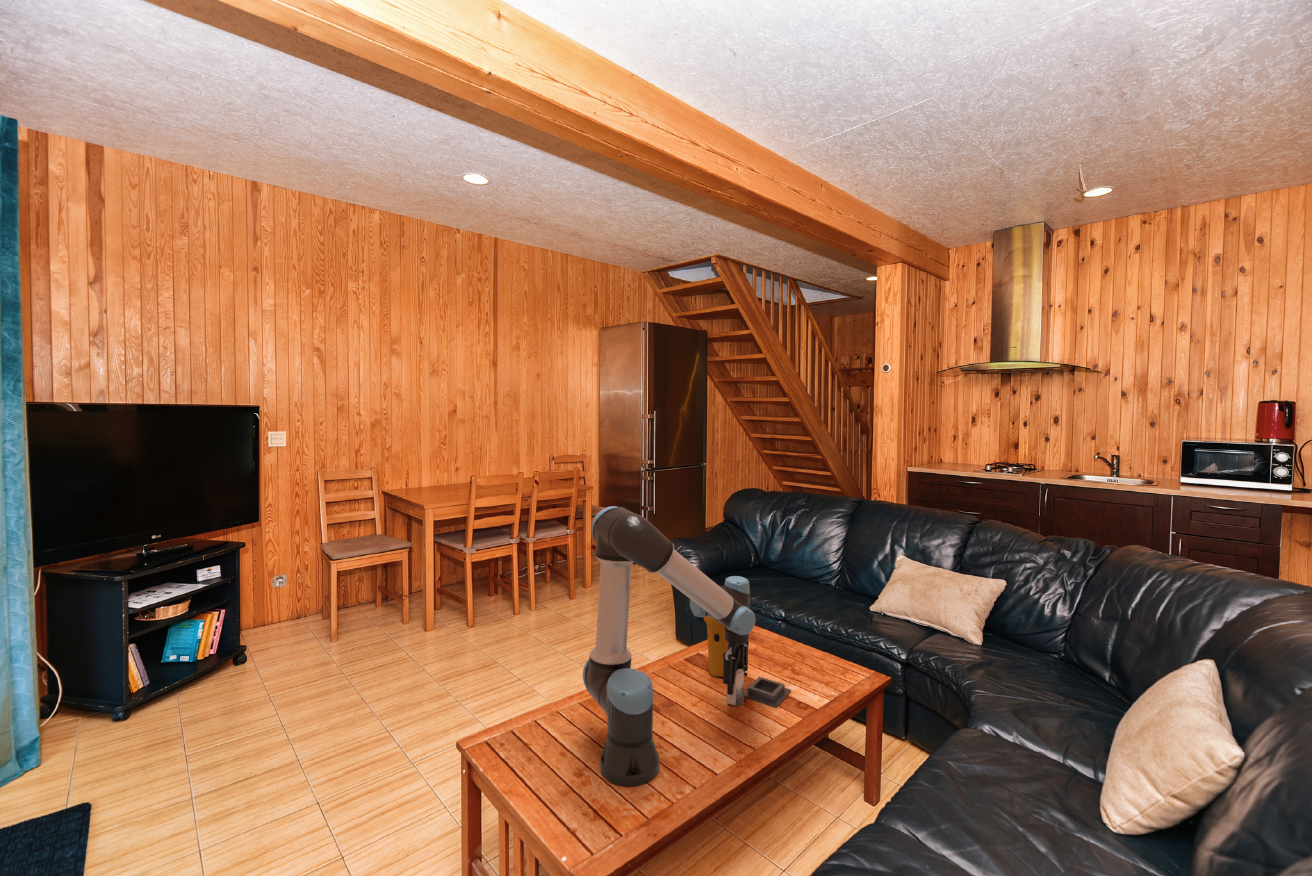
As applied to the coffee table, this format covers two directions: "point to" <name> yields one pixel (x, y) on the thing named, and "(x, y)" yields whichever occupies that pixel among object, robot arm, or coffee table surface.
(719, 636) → the flashlight
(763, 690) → the collar
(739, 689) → the piston
